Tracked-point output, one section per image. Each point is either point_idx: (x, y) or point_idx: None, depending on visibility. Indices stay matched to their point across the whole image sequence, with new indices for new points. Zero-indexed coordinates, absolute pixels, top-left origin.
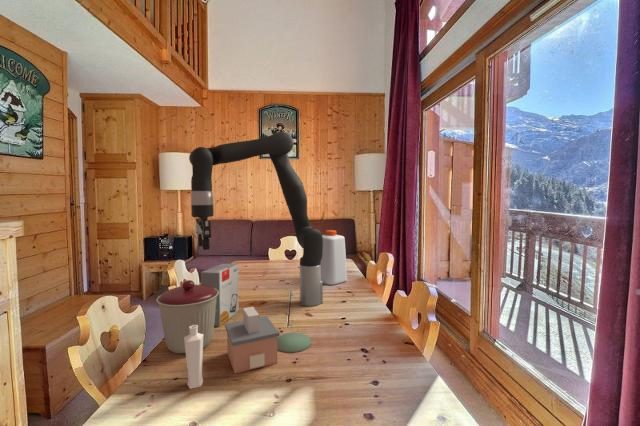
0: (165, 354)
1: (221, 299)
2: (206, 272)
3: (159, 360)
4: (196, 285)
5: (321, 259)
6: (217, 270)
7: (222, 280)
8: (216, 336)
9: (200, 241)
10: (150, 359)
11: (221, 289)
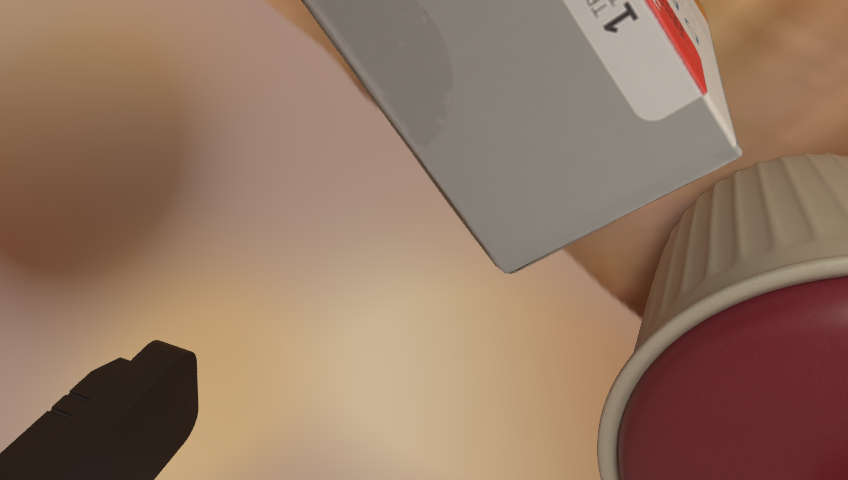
0: None
1: (698, 25)
2: (564, 243)
3: None
4: (788, 416)
5: None
6: (573, 97)
7: (694, 48)
8: (828, 97)
9: (134, 472)
10: None
11: (703, 47)
